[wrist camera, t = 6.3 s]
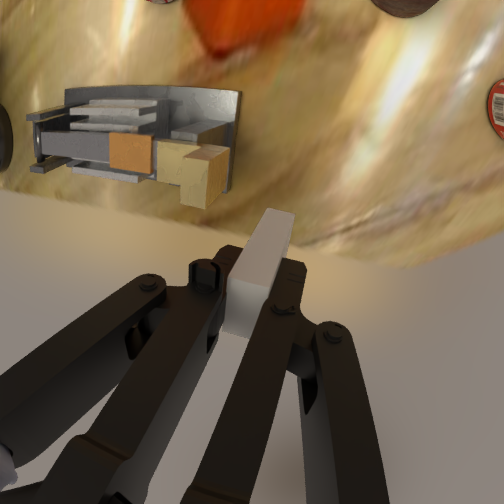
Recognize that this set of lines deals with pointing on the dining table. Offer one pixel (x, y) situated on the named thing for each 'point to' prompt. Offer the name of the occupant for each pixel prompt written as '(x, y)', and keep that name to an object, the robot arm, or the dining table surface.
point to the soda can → (497, 107)
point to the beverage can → (159, 1)
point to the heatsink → (142, 121)
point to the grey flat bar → (100, 147)
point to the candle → (405, 6)
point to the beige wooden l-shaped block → (193, 170)
